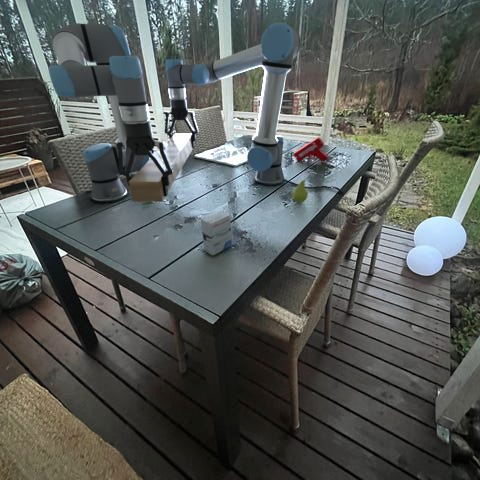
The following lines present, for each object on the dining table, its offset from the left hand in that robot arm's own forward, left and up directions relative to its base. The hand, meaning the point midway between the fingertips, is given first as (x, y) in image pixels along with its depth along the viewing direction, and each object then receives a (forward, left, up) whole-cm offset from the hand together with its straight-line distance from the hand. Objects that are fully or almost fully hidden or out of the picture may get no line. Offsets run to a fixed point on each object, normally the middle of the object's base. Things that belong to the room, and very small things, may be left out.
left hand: (151, 194), depth 89 cm
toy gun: (+19, +114, -16) cm, 116 cm away
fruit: (+34, +53, -16) cm, 65 cm away
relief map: (-33, +98, -16) cm, 104 cm away
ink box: (+23, +4, -16) cm, 28 cm away
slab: (-15, +26, 0) cm, 30 cm away
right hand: (-30, +52, 0) cm, 60 cm away
